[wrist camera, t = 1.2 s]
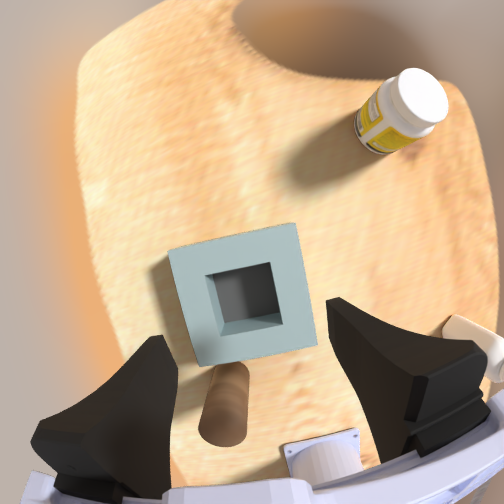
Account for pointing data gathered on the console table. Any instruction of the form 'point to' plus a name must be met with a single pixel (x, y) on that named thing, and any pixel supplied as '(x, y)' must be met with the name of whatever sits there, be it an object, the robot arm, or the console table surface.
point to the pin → (226, 406)
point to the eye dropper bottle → (479, 343)
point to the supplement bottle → (401, 111)
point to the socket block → (245, 295)
